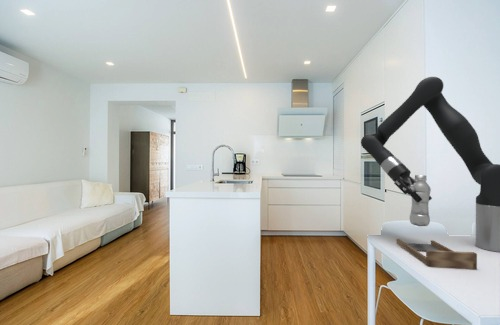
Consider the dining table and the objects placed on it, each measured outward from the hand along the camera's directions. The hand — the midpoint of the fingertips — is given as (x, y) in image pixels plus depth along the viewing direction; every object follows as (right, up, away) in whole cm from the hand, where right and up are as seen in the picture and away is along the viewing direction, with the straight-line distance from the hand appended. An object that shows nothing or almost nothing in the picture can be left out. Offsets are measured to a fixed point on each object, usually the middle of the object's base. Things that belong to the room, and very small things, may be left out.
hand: (424, 200), depth 92 cm
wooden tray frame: (-2, -19, -6) cm, 20 cm away
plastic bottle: (-1, -10, +2) cm, 11 cm away
